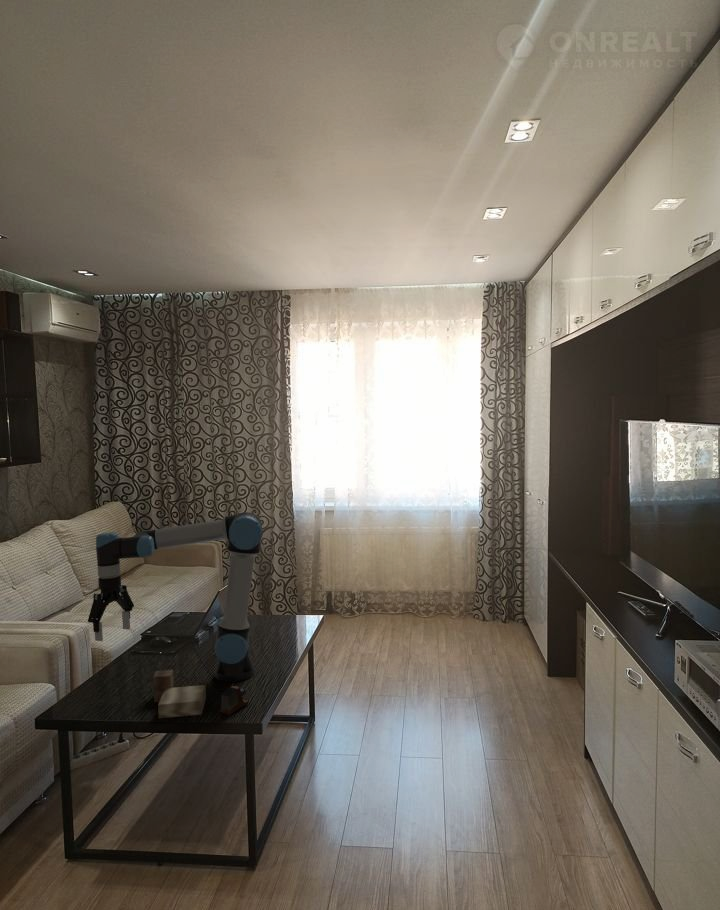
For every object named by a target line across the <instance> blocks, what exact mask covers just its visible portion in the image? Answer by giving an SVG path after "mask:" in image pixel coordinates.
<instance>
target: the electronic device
mask: <svg viewBox="0 0 720 910" xmlns="http://www.w3.org/2000/svg"><path fill="white" fill-rule="evenodd" d="M246 693H247V690H246V689H245V688H244V687H242V688H240V687H239V686H234V685H232V686H230V687H229V688H228V689H227V690H225V691H224V692H222V693H221V704H220V705H221V707H220V712H221V713H222V714H226V715H229V716H231V715H232V714H234V713H235V712H236V711H238V710H240V709H242V708H243V707H247V706H249V703H250V701H249V700H246V699H244V697H243V696H244V695H245V694H246Z"/></svg>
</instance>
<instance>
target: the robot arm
mask: <svg viewBox="0 0 720 910" xmlns="http://www.w3.org/2000/svg"><path fill="white" fill-rule="evenodd" d="M262 537H263V527H262V520H261V519H260V517H258V516H257V515H256V514H254V513H252V512H248V511H247V512H246V511H244V512H241V513H236V514H232V515H227V516H223V518H222V519H218V520H217V519H216V520H212V521H211V520H210V521H204V522H198V523H197V522H196V523H192V524H191V523H190V524H185V525H177V526H171V527H164V528H158V529H157V528H156V529H152V530H151V529H150V530H147V529H145V530H144V529H143V530H140V531H138V532H136V534H134V536H129V537H119V534H118V533H117V532H112V531H111V532H104V533H103V532H102V533H99V534H97V535H96V538H95V551H96V561H97V563H96V565H97V576H98V589H99V590H100V593H94V594H93V601H92V604H91V608H90V612H89V615H88V619H87V623H92V625H93V626H92V627H93V633H94V639H95V642H103V639H104V637H103V623H102V622H101V620H102V617H103V615H104V613H105V612H106V609H107V607H108V606H109V605H110V604H111V603H113V602H116V603H117V605H118V606H119V607H120V608H121V609H122V611H121V614H122V615H121V617H122V619H121V620H122V629H123V630H130V629H131V621H130V619H131V612H132V611H133V608H135V604H134V602H133V601H132V597H131V596H130V594H129V592H128V587H127V585H125V584H122V578H121V577H122V576H121V563H120V562H121V561H120V560H122V559H123V560H124V559H136V558H137V559H138V558H139V559H140V558H148V557H152V556H153V555H154V553H155V550H156V551H157V550H160V549H167V548H173V547H174V548H175V547H180V546H181V547H182V546H185V545H186V546H187V545H193V544H200V543H207V542H213V541H221V540H224V541H227V542H228V543H227V551H228V553H229V555H230V560H229V570H228V577H227V583H226V584H227V585H226V594H225V600H224V601H225V602H224V608H223V616H222V617H219V618H218V619H217V624H216V626H217V632H216V640H215V643H214V652H215V656H216V658H217V662H216V666H215V670H214V678H215V680H218V681H220V682H224V683H226V682H227V683H229V682H230V683H232V682H240V681H245V680H247V679H250V678H252V677H253V676H254V675H255V665H254V664H253V663H254V662H253V660H252V658H251V655H250V645H249V644H250V643H249V637H250V636H249V635H250V627H251V624H250V623H249V620H248V612H249V611H248V610H249V603H250V596H251V595H250V594H251V587H252V580H253V571H254V564H255V562H254V561H255V557H256V556H258V555H259V554H260V551H261V550H260V549H261V541H262V539H263V538H262Z"/></svg>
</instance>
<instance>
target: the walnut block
mask: <svg viewBox="0 0 720 910" xmlns="http://www.w3.org/2000/svg"><path fill="white" fill-rule="evenodd" d="M174 679H175V678H174V669H165V670H156V671H155V672H154V674H153V677H152V680H153V681H152V682H153V685H152V686H153V699H154V700H153V701H154V703H159V702H160V699H161V697H162V695H163V692H164V690H165V688H175V685H174V684H175V683H174Z"/></svg>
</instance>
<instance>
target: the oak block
mask: <svg viewBox="0 0 720 910" xmlns="http://www.w3.org/2000/svg"><path fill="white" fill-rule="evenodd" d="M206 688H207V687H206V684H201V685H189V686H179V687H178V686H176V687H175V686H174V688H165V690H164V692H163V695H162V697H161V699H160V702H158V705H157V706H158V707H157V708H158V709H157V711H158V719H165V718H176V717H187V716H188V717H189V715H190V716H200V715H202V714H203V710H204V707H205V704H206V699H207V692H206V690H207V689H206Z"/></svg>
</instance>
